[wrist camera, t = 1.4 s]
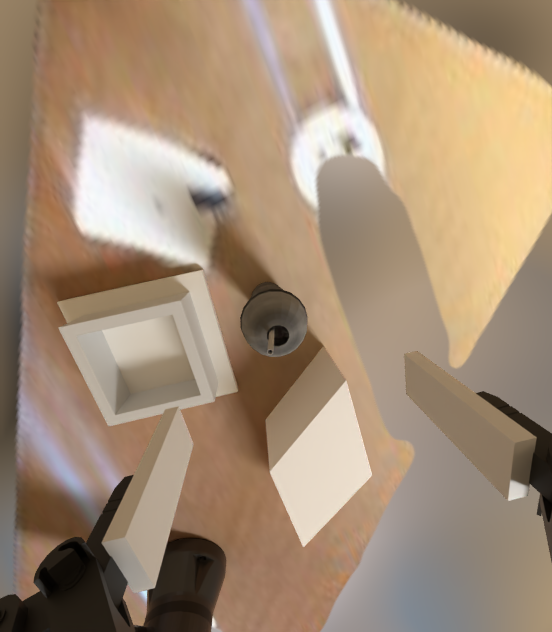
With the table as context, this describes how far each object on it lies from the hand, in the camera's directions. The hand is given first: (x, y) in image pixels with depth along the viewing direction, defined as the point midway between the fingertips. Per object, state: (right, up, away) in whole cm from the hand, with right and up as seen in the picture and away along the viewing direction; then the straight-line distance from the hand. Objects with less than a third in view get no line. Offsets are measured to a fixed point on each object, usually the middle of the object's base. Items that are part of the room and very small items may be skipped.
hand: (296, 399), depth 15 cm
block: (+4, -14, +32) cm, 35 cm away
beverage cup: (-2, +8, +24) cm, 26 cm away
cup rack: (-19, 0, +25) cm, 31 cm away
